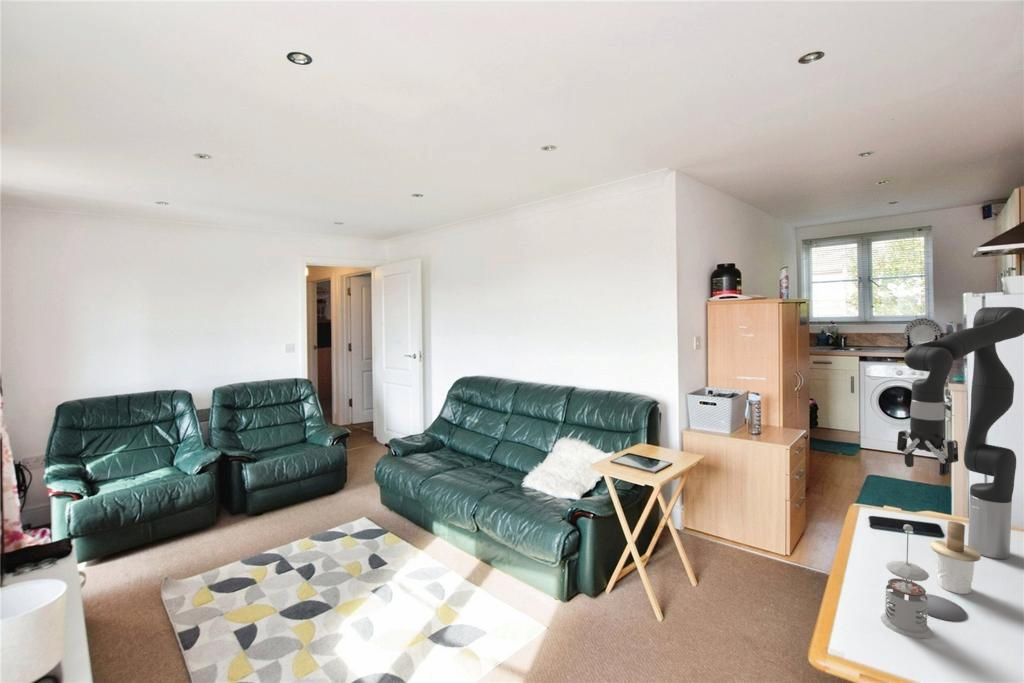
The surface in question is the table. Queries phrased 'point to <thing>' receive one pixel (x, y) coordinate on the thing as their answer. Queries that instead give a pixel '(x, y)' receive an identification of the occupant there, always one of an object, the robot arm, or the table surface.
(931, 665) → the table surface
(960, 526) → the lid
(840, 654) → the table surface
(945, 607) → the mat
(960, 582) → the white cup
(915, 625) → the french press
